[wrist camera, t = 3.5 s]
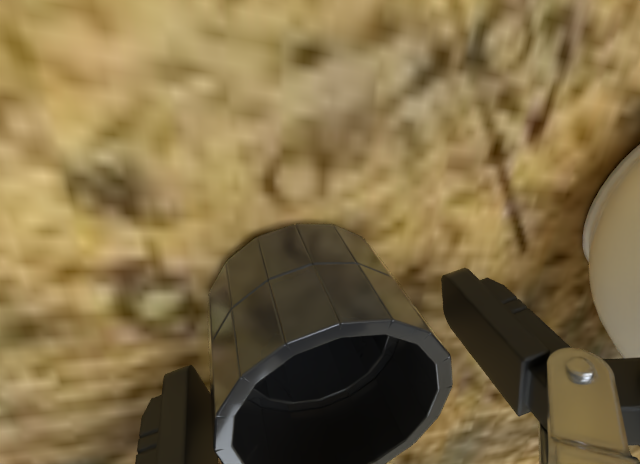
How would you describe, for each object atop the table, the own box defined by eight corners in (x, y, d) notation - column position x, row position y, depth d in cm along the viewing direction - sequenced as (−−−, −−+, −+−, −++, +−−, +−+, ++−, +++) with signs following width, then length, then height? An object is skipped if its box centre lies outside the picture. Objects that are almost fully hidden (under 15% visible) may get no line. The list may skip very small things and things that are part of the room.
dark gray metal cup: (242, 377, 15) (260, 518, 11) (177, 254, 12) (167, 388, 8) (388, 322, 16) (456, 435, 12) (363, 190, 13) (446, 283, 8)
